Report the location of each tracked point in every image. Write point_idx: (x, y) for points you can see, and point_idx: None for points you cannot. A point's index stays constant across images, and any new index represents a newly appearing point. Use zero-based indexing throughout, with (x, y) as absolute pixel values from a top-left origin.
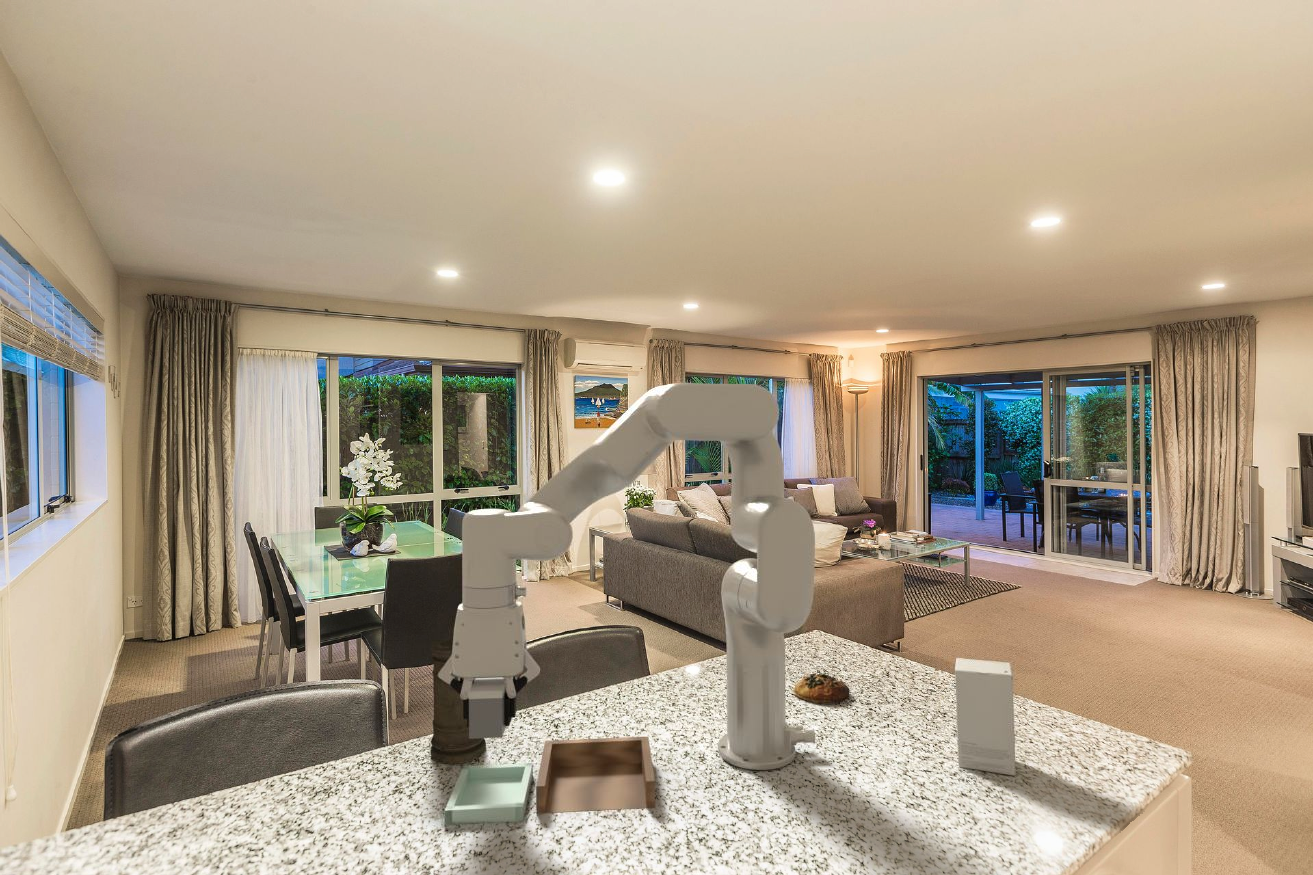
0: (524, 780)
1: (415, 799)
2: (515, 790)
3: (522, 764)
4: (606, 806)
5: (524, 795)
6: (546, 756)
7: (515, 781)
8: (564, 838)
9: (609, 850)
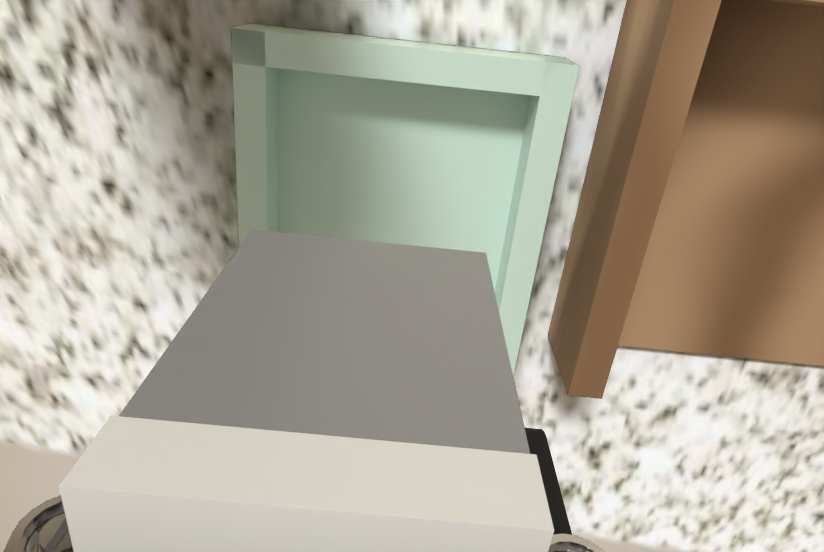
0: (526, 225)
1: (94, 150)
2: (484, 194)
3: (527, 72)
4: (789, 343)
5: (518, 333)
6: (657, 151)
7: (486, 119)
8: (613, 449)
9: (716, 510)
